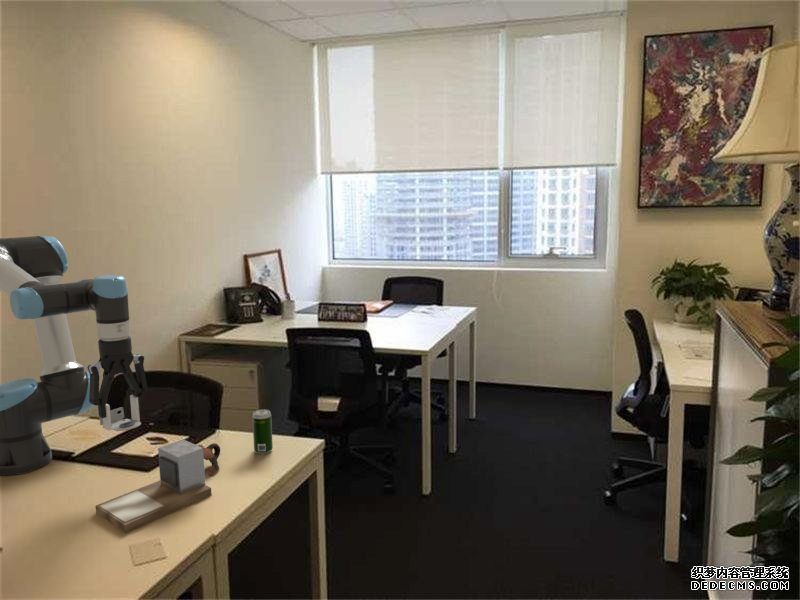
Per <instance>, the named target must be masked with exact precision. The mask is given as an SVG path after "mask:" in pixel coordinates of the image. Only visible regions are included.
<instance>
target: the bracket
mask: <svg viewBox="0 0 800 600" xmlns="http://www.w3.org/2000/svg"><path fill="white" fill-rule="evenodd" d="M119 411H120V413H118V412H119ZM110 416H111V427H112V430H111V431H115V432H116V431H117V432H121V431H130V430H133V429H136V428H138V427H140V426H141V425H142V422H141V421H134V420H132V419H130V418H125V412H124V407H122V406H120V407H118V408H114V409H112V410H111V409H110ZM98 417H99V425H100V426H103V418H101V417H100V416H99V415H98ZM124 418H125V419H124Z"/></svg>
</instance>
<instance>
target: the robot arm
mask: <svg viewBox="0 0 800 600" xmlns="http://www.w3.org/2000/svg"><path fill="white" fill-rule="evenodd" d="M68 263H69V260H68V256H67V253H66V250H65V248H64V246H63V244H62V243H61V242H60V241H59V240H58V239H57V238H56V237H54V236H50V235H47V236H45V235H44V236H43V235H35V236H24V237H23V236H22V237H21V236H19V237H9V238H8V237H7V238H5V237H3V238H0V292H1V293H3V295H5V296H6V297H8V299H9V306H10V309H11V312H12V313H13V316H14V317H15V318H16V319H18V320H32V321H33V325H34V328H35V334H36V339H37V343H38V347H39V352H40V356H41V361H42V366H43V370H42V371H41V372H40V374H39V381H37V380H36V379H34V378H23V379H20V378H19V379H16V380H10V381H9V382H5V383H2V384H0V476H15V475H20V474H25V473H30V472H32V471H36V470H38V469H41V468H42V467H45V466H46V465H48V464H49V463H50V462H51V461H52V460H53V454H52V448H51V447H50V445H49V443H48V441H47V440H46V437H45V435H44V433H43V430H42V429H43V427H42V424H44V423H46V422H51V421H56V420H59V419H63V418H67V417H71V416H76V415H79V414H81V413H84V412H87V411H90V410H91V409H92V408H93V406H97V408H98V409H97V411H98V417H99V416H100V417H101V418H103V425H102V428H103V429H105V430H107V431H113V430H112V427H111V416H110V410H111V407H110V404H108V403H107V401H108V398H109V396H110V395H109V394H110V392H111V391H110V390H111V387H112V382H113V380H114V379H115V376H116V375H119V374H122V375H123V376H124V378H125V381H126V383H127V384H128V387H129V389H130V391H131V393H132V394H131V395H129V401H130V402H129V403H130V411H131V412H130V414H131V420H134V421H139V422H141V417H140V408H142V407H143V406H142V397H143V396H144V394H145V393H146V392H148V391H149V388H148V387H149V386H148V383H147V378H146V377H147V376H146V372H145V366H144V361H145V356H144V355H140V354H133V353H132V352H133V351H132V350H133V346H132V338H131V336H130V335H131V334H132V333H131V326H130V325H131V324H130V323H131V321H130V312H129V311H130V310H129V309H130V308H129V289H128V287H127V279H126V278H125V277H124V276H123V275H115V274H111V275H110V274H109V275H107V274H106V275H100V276H96V277H95V278H94V279H91V278H89V279H88V278H85V279H84V278H83V279H80V280H78V281H75V282H67V283H61V282H62V281H63V279H64V274H65V273H67V272H68V269H69V268H68V267H69V265H68ZM86 311H87V312H88V311H94V313H95V317H96V318H95V321H96V330H97V338H98V341H97V343H98V353H99V359H98V362H96V363H95V364H89V365H87V370H88V371H85V368H84V365H82V364H81V363H78V361H77V358H76V354H75V349H74V345H73V340H72V336H71V331H70V326H69V323H68V318H67V314H72V313H73V314H74V313H79V312H80V313H81V312H86ZM132 362H133V364H134V370H135V376H136V378H135V376H134V375H133V370H132V368H131V364H132ZM101 368H102V370H103V372H102V380H101V384H100V372H101Z"/></svg>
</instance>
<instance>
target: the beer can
mask: <svg viewBox="0 0 800 600" xmlns="http://www.w3.org/2000/svg"><path fill="white" fill-rule="evenodd" d="M272 423H273V422H272V413H271V411H270V410H269V409H258V410H255V411H253V412H252V432H253V433H252V434H253V435H252V436H253V437H252V439H253V450H254V452H255V454H257V455H267V454H270V453H271V452H273V447H274V446H273V427H272V426H273V424H272Z"/></svg>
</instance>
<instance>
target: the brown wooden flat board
mask: <svg viewBox="0 0 800 600" xmlns="http://www.w3.org/2000/svg"><path fill="white" fill-rule="evenodd" d="M210 496H212V487H211V486H209V485H206V484H205V485H204V486H202V487H199V488H197V489H195V490H192V491H190V492H188V493H185V494H183V495H179V494H177V493H175V492H173V491H172V490H170V489H168V488H166V487H164V486H162V485H161V480H160V479H159V480H157V481H154V482H152V483H150V484H147V485H145V486H141V487H139V488H137V489H134V490H131V491H130V492H127V493H125V494H122V495H120V496H119V495H118V496H117V497H115V498H111V499H108V500H106V501H105V502H101V503H99V504H96V505H95V514H96V515H98V516H99V517H101V518H102V519H103V520H105V521H107V522H108V523H110V525H113V526H114V527H116V528H117V529H118V530H120V531H122V532H123V533H125V534H127V533H130V532H132V531H135V530H136V529H139V528H141V527H143V526H145V525H148V524H150V523H153V522H154V521H157V520H159V519H161V518H164V517H167V516H168V515H170V514H173V513H175V512H177V511H179V510H181V509H184V508H186V507H188V506H191V505H192V504H196V503H197V502H200V501H202V500H204V499H206V498H208V497H210Z"/></svg>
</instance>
